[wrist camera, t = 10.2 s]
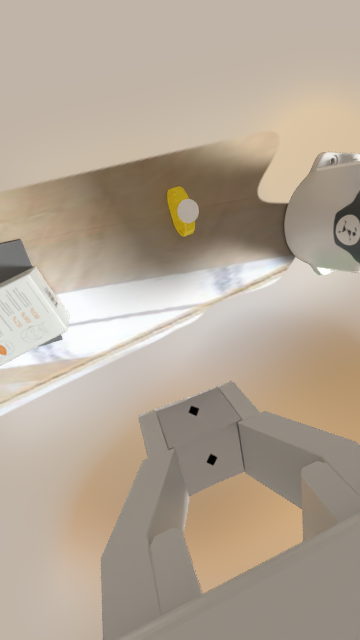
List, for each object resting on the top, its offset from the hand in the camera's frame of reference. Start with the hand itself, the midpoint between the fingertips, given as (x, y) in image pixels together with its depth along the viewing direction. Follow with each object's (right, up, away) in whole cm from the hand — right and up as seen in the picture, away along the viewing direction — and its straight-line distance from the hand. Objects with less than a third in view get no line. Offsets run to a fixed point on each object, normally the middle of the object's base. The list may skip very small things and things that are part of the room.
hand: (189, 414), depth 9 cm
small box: (-16, +6, +26) cm, 31 cm away
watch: (-1, +18, +30) cm, 35 cm away
